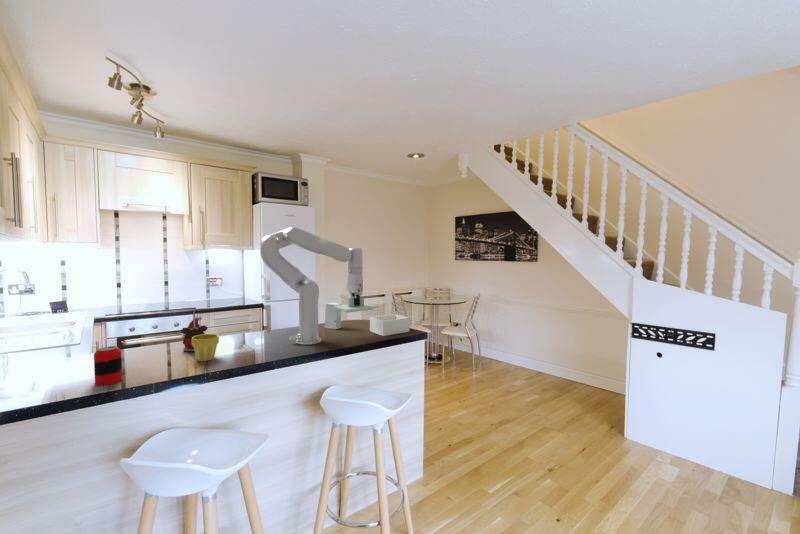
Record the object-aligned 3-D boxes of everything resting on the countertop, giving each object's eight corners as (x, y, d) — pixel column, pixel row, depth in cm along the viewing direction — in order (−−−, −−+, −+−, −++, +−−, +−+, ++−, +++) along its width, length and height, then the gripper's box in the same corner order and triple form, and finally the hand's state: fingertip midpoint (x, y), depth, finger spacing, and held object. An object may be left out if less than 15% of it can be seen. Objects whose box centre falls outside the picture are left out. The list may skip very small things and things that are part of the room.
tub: (383, 335, 198) (383, 321, 197) (369, 330, 209) (369, 317, 209) (409, 331, 208) (409, 317, 208) (395, 327, 220) (395, 314, 219)
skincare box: (324, 328, 215) (324, 303, 214) (329, 326, 221) (329, 302, 220) (336, 329, 212) (336, 304, 211) (341, 327, 218) (341, 303, 217)
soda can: (127, 377, 133) (126, 345, 132) (111, 385, 125) (110, 351, 124) (106, 377, 132) (105, 345, 132) (89, 385, 125) (87, 351, 124)
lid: (346, 313, 182) (346, 299, 182) (333, 309, 194) (333, 296, 194) (377, 309, 193) (377, 296, 193) (363, 305, 205) (363, 293, 205)
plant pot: (224, 356, 159) (224, 334, 158) (206, 363, 149) (205, 340, 149) (205, 354, 162) (204, 332, 161) (186, 361, 152) (185, 338, 151)
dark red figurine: (183, 353, 163) (182, 314, 162) (180, 349, 170) (179, 311, 169) (209, 349, 169) (209, 311, 168) (205, 345, 177) (204, 308, 176)
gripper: (342, 270, 197) (342, 304, 198) (356, 272, 184) (356, 308, 185) (354, 269, 201) (354, 302, 202) (369, 271, 188) (369, 306, 189)
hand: (355, 305), depth 194 cm, fingers closed on lid, 2 cm apart
